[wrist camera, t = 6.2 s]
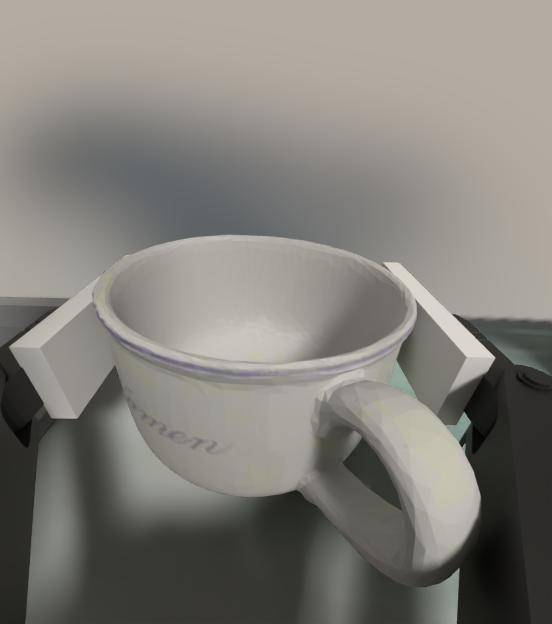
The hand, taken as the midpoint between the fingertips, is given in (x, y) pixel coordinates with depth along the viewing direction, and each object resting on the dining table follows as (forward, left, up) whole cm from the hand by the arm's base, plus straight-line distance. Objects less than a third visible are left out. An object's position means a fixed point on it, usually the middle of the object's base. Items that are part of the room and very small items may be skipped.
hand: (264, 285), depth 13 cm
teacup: (0, +4, -6) cm, 7 cm away
